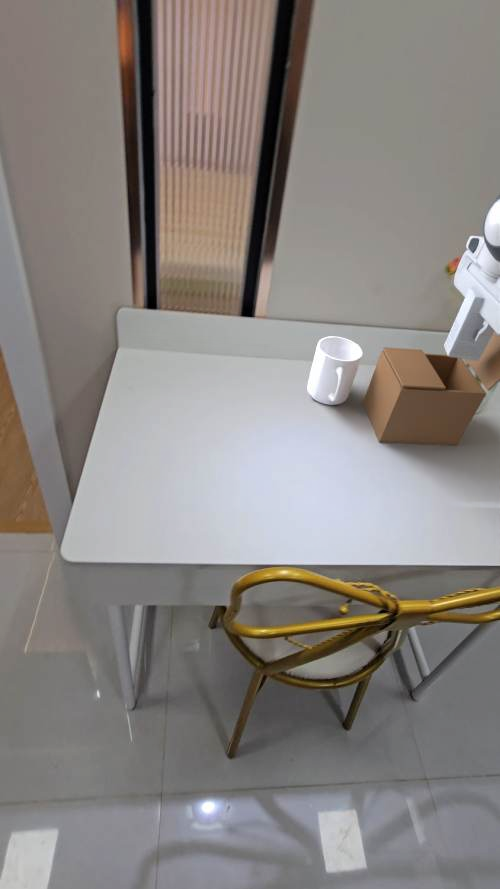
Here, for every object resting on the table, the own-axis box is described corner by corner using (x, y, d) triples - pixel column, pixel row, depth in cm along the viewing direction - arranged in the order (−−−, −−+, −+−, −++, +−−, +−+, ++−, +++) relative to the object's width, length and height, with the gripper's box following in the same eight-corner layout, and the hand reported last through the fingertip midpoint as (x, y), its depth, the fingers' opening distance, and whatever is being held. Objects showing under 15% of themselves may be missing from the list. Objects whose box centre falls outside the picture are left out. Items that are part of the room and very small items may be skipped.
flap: (460, 352, 98) (461, 353, 98) (487, 390, 89) (489, 390, 89) (490, 319, 93) (491, 320, 93) (522, 355, 84) (524, 356, 84)
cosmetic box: (473, 350, 92) (503, 291, 83) (478, 362, 88) (510, 302, 80) (442, 345, 91) (469, 286, 83) (446, 357, 88) (475, 296, 80)
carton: (434, 406, 108) (460, 352, 98) (456, 445, 98) (488, 390, 89) (362, 402, 105) (382, 347, 96) (379, 442, 96) (403, 385, 86)
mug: (338, 379, 111) (351, 335, 103) (359, 412, 103) (375, 367, 95) (300, 381, 108) (311, 336, 100) (318, 415, 100) (332, 369, 92)
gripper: (560, 287, 70) (514, 365, 80) (497, 236, 85) (464, 307, 95) (522, 284, 70) (479, 363, 79) (465, 233, 84) (435, 305, 94)
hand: (471, 332), depth 87 cm, fingers closed on cosmetic box, 4 cm apart
